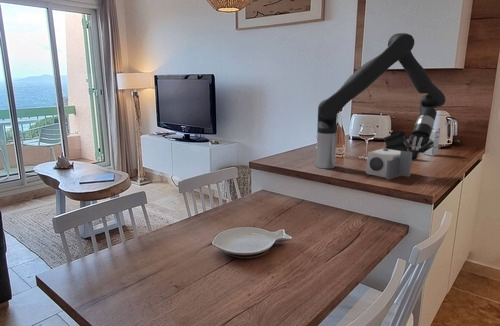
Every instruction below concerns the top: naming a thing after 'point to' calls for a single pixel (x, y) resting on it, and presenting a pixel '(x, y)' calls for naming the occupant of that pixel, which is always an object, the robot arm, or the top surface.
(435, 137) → the syrup box
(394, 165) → the side door
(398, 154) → the knobbed white box
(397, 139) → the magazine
